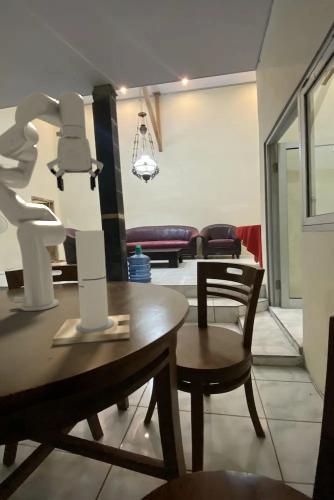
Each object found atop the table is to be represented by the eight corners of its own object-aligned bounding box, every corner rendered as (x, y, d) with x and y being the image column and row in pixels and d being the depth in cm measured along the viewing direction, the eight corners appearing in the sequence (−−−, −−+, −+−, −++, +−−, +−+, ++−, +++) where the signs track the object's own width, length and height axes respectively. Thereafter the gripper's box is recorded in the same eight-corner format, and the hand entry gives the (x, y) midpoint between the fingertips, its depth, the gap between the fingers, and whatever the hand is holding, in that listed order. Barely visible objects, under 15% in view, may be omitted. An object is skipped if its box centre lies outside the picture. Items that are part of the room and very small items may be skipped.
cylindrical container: (101, 329, 66) (95, 230, 64) (75, 328, 67) (69, 231, 65) (112, 319, 73) (107, 230, 71) (89, 319, 74) (84, 231, 72)
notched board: (52, 345, 62) (52, 337, 62) (67, 324, 76) (66, 318, 75) (129, 338, 64) (129, 330, 64) (129, 319, 78) (129, 313, 78)
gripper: (41, 131, 78) (45, 188, 79) (100, 131, 80) (103, 187, 81) (49, 139, 85) (52, 192, 87) (102, 140, 88) (105, 191, 89)
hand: (77, 190), depth 84 cm, fingers open, 9 cm apart
